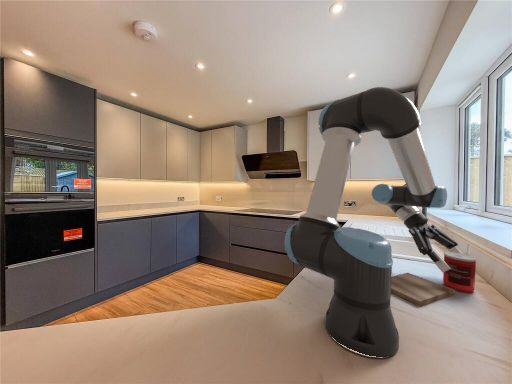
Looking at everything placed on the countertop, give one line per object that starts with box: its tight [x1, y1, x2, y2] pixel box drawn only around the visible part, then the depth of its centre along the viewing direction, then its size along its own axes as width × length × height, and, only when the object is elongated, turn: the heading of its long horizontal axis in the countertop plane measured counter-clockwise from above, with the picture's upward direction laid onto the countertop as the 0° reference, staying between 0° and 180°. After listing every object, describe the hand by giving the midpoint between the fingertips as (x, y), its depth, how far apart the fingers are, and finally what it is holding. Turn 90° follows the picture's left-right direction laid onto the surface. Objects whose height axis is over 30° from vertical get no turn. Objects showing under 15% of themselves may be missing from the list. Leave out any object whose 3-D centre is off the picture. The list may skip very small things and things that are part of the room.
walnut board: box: [391, 272, 456, 307], centre depth 69 cm, size 18×14×2 cm
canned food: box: [442, 251, 477, 294], centre depth 71 cm, size 8×8×11 cm
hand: (457, 267), depth 72 cm, fingers open, 13 cm apart
